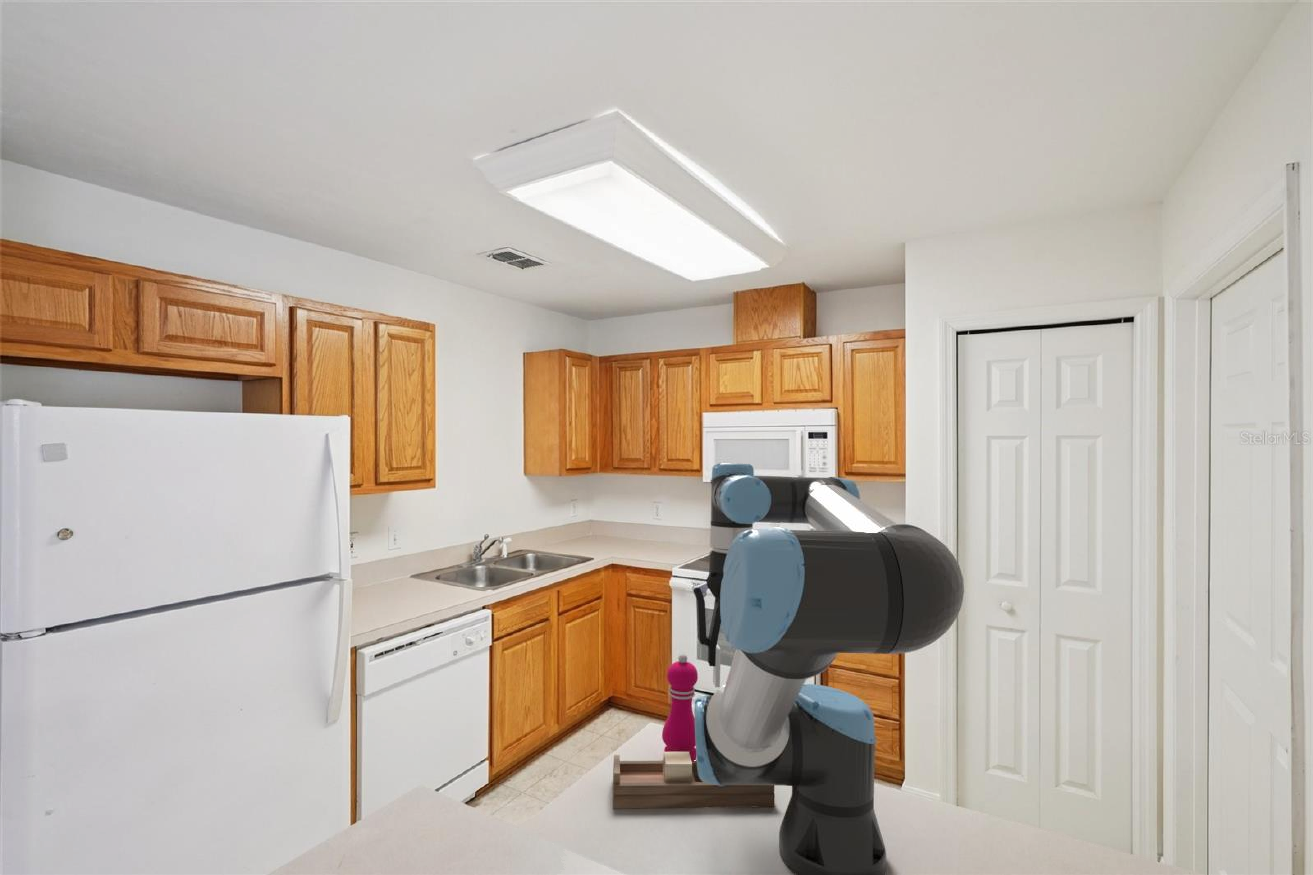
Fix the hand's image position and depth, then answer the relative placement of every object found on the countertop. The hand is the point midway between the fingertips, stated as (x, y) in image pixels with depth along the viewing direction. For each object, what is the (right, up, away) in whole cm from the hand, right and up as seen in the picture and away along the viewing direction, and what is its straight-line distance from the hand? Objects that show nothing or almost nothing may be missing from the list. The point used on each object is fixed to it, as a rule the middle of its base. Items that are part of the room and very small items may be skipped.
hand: (727, 684), depth 107 cm
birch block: (-9, -16, -1) cm, 19 cm away
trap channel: (-7, -18, -1) cm, 20 cm away
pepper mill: (-8, -19, +11) cm, 23 cm away
